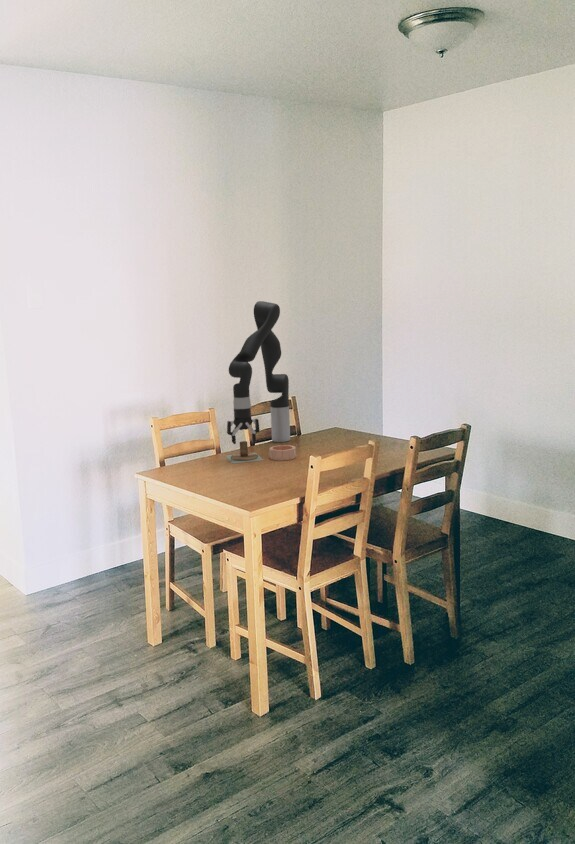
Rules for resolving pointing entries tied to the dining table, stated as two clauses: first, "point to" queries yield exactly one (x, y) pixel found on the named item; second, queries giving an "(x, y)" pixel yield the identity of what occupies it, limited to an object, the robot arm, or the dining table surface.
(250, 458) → the lid
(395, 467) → the dining table surface
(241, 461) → the mat
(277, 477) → the dining table surface
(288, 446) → the bowl
